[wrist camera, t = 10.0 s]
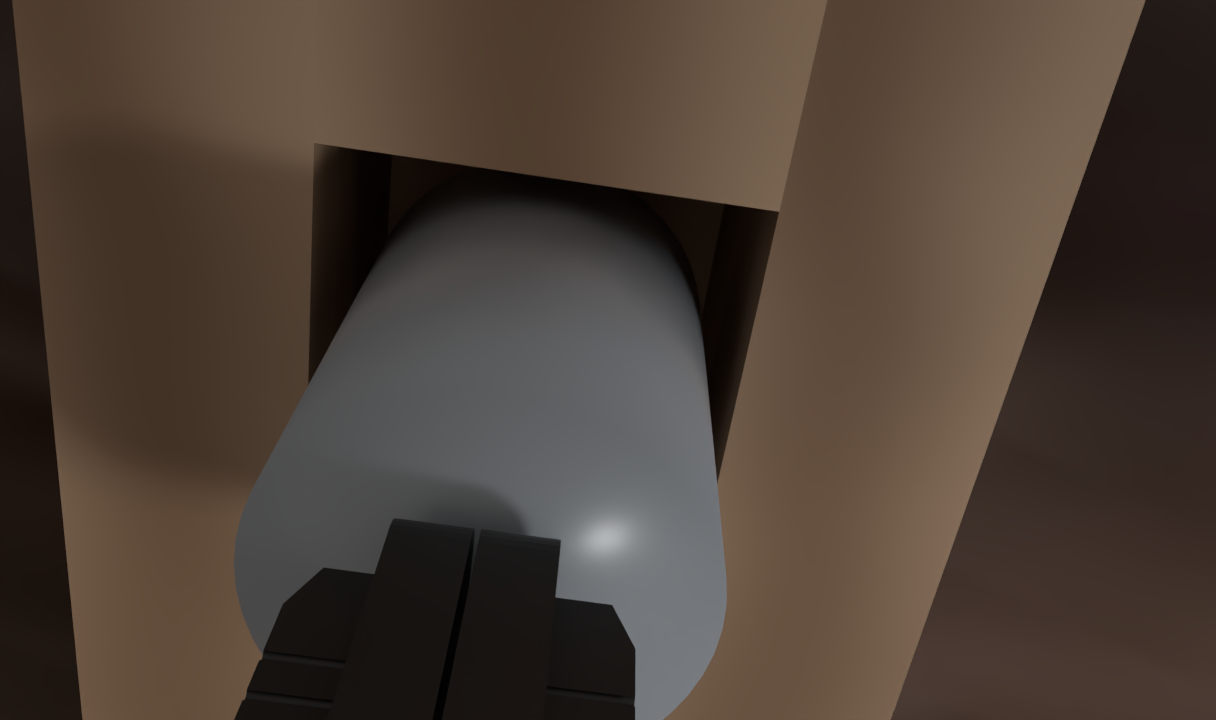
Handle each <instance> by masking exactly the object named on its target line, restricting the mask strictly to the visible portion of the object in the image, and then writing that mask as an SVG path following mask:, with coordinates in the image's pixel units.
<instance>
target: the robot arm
mask: <svg viewBox="0 0 1216 720" xmlns="http://www.w3.org/2000/svg"><path fill="white" fill-rule="evenodd" d="M474 537H475V529H474V528H467V527H459V526H452V525H444V524H437V523H429V522H422V521H414V520H407V519H399V518H394V519H393V520H392V522H391V524H390V527H389V530H388V533H387V536H386V539H385V542H384V546H383V549H382V552H381V555H380V558H379V561H378V564H377V567H376V570H375V573H374V574H370V573H362V572H355V571H347V570H339V569H332V568H322V569H321V570H320V571H319V572H318V573H317V574H316V575H315V576H313V577H312V578H311V579H310V580H309V581H308V582H307V583H306V584H304V585H303V586H302V587H301V588H300V589H299V590H298V591H297V592H296V593H294V594H293V595H292V596H291V597H290V598H289V599H288V600H287V601H285V602H284V603H283V605H282V607H281V609H280V612H279V614H278V617H277V619H276V621H275V624H274V626H273V628H272V631H271V633H270V636H269V638H268V640H267V643H266V645H265V647H264V650H263V656H262V659H261V660H259V662H258V664H257V666H256V669H255V671H254V674H253V676H252V678H251V681H250V683H249V686H248V688H247V693H246V697H245V700H242V702H241V705H240V707H239V709H238V712H237V714H236V716H235V719H234V720H635V707H634V703H635V663H636V649H635V647H634V645H633V643H632V641H631V639H630V638H629V636H628V634H627V632H626V630H625V628H624V626H623V624H622V622H621V621H620V619H619V617H618V615H617V613H616V611H615V609H614V607H613V605H610V604H602V603H594V602H587V601H579V600H571V599H564V598H556V587H557V577H558V567H559V557H560V546H561V540H559V539H552V538H544V537H537V536H529V535H522V534H514V533H507V532H499V531H492V530H484V529H481V532H480V536H479V541H478V546H477V551H476V556H475V561H474V565H473V570H472V575H471V566H472V557H473V548H474ZM470 575H471V580H470ZM469 583H470V585H469Z"/></svg>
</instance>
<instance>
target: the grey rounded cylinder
mask: <svg viewBox="0 0 1216 720" xmlns="http://www.w3.org/2000/svg"><path fill="white" fill-rule="evenodd" d="M394 518H399V519H407V520H414V521H422V522H429V523H437V524H444V525H452V526H459V527H467V528H474V529H475V537H474V548H473V557H472V566H471V575H472V570H473V565H474V561H475V556H476V551H477V546H478V541H479V536H480V532H481V529H484V530H492V531H499V532H507V533H514V534H522V535H529V536H537V537H544V538H552V539H559V540H561V546H560V557H559V567H558V577H557V587H556V598H564V599H571V600H579V601H587V602H594V603H602V604H610V605H613V607H614V609H615V611H616V613H617V615H618V617H619V619H620V621H621V622H622V624H623V626H624V628H625V630H626V632H627V634H628V636H629V638H630V639H631V641H632V643H633V645H634V647H635V649H636V663H635V703H634V707H635V720H663V719H664V718H665V717H667V716H668V715H669V714H670V713H671V712H672V711H673V710H674V709H675V708H676V707H677V706H678V705H679V704H680V703H681V702H682V701H683V700H684V699H685V698H686V697H687V696H688V695H689V693H690V692H691V691H692V689H693V688H694V687H695V685H696V684H697V683H698V681H699V680H700V679H701V677H702V676H703V674H704V672H705V670H706V668H707V667H708V665H709V663H710V661H711V659H712V657H713V655H714V653H715V650H716V647H717V644H718V641H719V638H720V635H721V633H722V630H723V624H724V618H725V611H726V605H727V578H726V568H725V558H724V548H723V537H722V527H721V517H720V507H719V497H718V486H717V476H716V466H715V456H714V445H713V435H712V425H711V415H710V404H709V394H708V384H707V374H706V363H705V353H704V343H703V333H702V323H701V312H700V303H699V296H698V290H697V284H696V281H695V278H694V274H693V271H692V268H691V265H690V263H689V261H688V258H687V256H686V254H685V252H684V250H683V248H682V246H681V244H680V243H679V241H678V240H677V238H676V237H675V235H674V234H673V232H672V231H671V229H670V228H669V227H668V225H667V224H666V223H665V222H664V221H663V220H662V219H661V217H660V216H659V215H658V214H657V213H656V212H655V211H654V210H653V209H652V208H651V207H650V206H648V205H647V204H646V203H645V202H644V201H643V200H642V199H640V198H639V197H638V196H636V195H635V194H633V193H632V192H630V191H629V190H627V189H622V188H615V187H609V186H602V185H595V184H588V183H582V182H575V181H568V180H561V179H555V178H548V177H541V176H534V175H527V174H521V173H514V172H507V171H500V170H494V169H487V168H480V167H479V168H476V169H472V170H469V171H466V172H464V173H462V174H459V175H457V176H455V177H453V178H451V179H449V180H447V181H445V182H443V183H442V184H440V185H439V186H437V187H435V188H434V189H432V190H431V191H429V192H428V193H427V194H425V195H424V196H423V197H422V198H421V199H420V200H419V201H417V202H416V203H415V204H414V205H413V206H412V207H411V208H410V209H409V210H408V211H407V212H406V214H405V215H404V216H403V217H402V218H401V219H400V220H399V222H398V223H397V225H396V226H395V228H394V229H393V231H392V233H391V234H390V236H389V237H388V239H387V241H386V242H385V244H384V246H383V248H382V250H381V252H380V254H379V255H378V257H377V259H376V261H375V263H374V265H373V267H372V268H371V270H370V272H369V274H368V276H367V278H366V280H365V281H364V283H363V285H362V287H361V289H360V291H359V292H358V294H357V296H356V298H355V300H354V302H353V304H352V305H351V307H350V309H349V311H348V313H347V315H346V317H345V318H344V320H343V322H342V324H341V326H340V328H339V329H338V331H337V333H336V335H335V337H334V339H333V341H332V342H331V344H330V346H329V348H328V350H327V352H326V354H325V355H324V357H323V359H322V361H321V363H320V365H319V366H318V368H317V370H316V372H315V374H314V376H313V378H312V379H311V381H310V383H309V385H308V387H307V389H306V391H305V392H304V394H303V396H302V398H301V400H300V402H299V403H298V405H297V407H296V409H295V411H294V413H293V415H292V416H291V418H290V420H289V422H288V424H287V426H286V428H285V429H284V431H283V433H282V435H281V437H280V439H279V441H278V442H277V444H276V446H275V448H274V450H273V452H272V453H271V455H270V457H269V459H268V461H267V463H266V465H265V466H264V468H263V470H262V472H261V474H260V476H259V478H258V479H257V481H256V483H255V485H254V487H253V489H252V491H251V493H250V495H249V498H248V500H247V502H246V505H245V507H244V509H243V512H242V514H241V518H240V522H239V526H238V530H237V535H236V539H235V553H234V573H235V584H236V592H237V595H238V599H239V603H240V607H241V611H242V615H243V617H244V620H245V622H246V624H247V627H248V629H249V631H250V634H251V636H252V638H253V640H254V642H255V644H256V645H257V647H258V649H259V650H260V652H261V654H262V655H263V650H264V647H265V645H266V643H267V640H268V638H269V636H270V633H271V631H272V628H273V626H274V624H275V621H276V619H277V617H278V614H279V612H280V609H281V607H282V605H283V603H284V602H285V601H287V600H288V599H289V598H290V597H291V596H292V595H293V594H294V593H296V592H297V591H298V590H299V589H300V588H301V587H302V586H303V585H304V584H306V583H307V582H308V581H309V580H310V579H311V578H312V577H313V576H315V575H316V574H317V573H318V572H319V571H320V570H321V569H322V568H332V569H339V570H347V571H355V572H362V573H370V574H374V573H375V570H376V567H377V564H378V561H379V558H380V555H381V552H382V549H383V546H384V542H385V539H386V536H387V533H388V530H389V527H390V524H391V522H392V520H393V519H394ZM471 575H470V580H471ZM469 585H470V583H469Z"/></svg>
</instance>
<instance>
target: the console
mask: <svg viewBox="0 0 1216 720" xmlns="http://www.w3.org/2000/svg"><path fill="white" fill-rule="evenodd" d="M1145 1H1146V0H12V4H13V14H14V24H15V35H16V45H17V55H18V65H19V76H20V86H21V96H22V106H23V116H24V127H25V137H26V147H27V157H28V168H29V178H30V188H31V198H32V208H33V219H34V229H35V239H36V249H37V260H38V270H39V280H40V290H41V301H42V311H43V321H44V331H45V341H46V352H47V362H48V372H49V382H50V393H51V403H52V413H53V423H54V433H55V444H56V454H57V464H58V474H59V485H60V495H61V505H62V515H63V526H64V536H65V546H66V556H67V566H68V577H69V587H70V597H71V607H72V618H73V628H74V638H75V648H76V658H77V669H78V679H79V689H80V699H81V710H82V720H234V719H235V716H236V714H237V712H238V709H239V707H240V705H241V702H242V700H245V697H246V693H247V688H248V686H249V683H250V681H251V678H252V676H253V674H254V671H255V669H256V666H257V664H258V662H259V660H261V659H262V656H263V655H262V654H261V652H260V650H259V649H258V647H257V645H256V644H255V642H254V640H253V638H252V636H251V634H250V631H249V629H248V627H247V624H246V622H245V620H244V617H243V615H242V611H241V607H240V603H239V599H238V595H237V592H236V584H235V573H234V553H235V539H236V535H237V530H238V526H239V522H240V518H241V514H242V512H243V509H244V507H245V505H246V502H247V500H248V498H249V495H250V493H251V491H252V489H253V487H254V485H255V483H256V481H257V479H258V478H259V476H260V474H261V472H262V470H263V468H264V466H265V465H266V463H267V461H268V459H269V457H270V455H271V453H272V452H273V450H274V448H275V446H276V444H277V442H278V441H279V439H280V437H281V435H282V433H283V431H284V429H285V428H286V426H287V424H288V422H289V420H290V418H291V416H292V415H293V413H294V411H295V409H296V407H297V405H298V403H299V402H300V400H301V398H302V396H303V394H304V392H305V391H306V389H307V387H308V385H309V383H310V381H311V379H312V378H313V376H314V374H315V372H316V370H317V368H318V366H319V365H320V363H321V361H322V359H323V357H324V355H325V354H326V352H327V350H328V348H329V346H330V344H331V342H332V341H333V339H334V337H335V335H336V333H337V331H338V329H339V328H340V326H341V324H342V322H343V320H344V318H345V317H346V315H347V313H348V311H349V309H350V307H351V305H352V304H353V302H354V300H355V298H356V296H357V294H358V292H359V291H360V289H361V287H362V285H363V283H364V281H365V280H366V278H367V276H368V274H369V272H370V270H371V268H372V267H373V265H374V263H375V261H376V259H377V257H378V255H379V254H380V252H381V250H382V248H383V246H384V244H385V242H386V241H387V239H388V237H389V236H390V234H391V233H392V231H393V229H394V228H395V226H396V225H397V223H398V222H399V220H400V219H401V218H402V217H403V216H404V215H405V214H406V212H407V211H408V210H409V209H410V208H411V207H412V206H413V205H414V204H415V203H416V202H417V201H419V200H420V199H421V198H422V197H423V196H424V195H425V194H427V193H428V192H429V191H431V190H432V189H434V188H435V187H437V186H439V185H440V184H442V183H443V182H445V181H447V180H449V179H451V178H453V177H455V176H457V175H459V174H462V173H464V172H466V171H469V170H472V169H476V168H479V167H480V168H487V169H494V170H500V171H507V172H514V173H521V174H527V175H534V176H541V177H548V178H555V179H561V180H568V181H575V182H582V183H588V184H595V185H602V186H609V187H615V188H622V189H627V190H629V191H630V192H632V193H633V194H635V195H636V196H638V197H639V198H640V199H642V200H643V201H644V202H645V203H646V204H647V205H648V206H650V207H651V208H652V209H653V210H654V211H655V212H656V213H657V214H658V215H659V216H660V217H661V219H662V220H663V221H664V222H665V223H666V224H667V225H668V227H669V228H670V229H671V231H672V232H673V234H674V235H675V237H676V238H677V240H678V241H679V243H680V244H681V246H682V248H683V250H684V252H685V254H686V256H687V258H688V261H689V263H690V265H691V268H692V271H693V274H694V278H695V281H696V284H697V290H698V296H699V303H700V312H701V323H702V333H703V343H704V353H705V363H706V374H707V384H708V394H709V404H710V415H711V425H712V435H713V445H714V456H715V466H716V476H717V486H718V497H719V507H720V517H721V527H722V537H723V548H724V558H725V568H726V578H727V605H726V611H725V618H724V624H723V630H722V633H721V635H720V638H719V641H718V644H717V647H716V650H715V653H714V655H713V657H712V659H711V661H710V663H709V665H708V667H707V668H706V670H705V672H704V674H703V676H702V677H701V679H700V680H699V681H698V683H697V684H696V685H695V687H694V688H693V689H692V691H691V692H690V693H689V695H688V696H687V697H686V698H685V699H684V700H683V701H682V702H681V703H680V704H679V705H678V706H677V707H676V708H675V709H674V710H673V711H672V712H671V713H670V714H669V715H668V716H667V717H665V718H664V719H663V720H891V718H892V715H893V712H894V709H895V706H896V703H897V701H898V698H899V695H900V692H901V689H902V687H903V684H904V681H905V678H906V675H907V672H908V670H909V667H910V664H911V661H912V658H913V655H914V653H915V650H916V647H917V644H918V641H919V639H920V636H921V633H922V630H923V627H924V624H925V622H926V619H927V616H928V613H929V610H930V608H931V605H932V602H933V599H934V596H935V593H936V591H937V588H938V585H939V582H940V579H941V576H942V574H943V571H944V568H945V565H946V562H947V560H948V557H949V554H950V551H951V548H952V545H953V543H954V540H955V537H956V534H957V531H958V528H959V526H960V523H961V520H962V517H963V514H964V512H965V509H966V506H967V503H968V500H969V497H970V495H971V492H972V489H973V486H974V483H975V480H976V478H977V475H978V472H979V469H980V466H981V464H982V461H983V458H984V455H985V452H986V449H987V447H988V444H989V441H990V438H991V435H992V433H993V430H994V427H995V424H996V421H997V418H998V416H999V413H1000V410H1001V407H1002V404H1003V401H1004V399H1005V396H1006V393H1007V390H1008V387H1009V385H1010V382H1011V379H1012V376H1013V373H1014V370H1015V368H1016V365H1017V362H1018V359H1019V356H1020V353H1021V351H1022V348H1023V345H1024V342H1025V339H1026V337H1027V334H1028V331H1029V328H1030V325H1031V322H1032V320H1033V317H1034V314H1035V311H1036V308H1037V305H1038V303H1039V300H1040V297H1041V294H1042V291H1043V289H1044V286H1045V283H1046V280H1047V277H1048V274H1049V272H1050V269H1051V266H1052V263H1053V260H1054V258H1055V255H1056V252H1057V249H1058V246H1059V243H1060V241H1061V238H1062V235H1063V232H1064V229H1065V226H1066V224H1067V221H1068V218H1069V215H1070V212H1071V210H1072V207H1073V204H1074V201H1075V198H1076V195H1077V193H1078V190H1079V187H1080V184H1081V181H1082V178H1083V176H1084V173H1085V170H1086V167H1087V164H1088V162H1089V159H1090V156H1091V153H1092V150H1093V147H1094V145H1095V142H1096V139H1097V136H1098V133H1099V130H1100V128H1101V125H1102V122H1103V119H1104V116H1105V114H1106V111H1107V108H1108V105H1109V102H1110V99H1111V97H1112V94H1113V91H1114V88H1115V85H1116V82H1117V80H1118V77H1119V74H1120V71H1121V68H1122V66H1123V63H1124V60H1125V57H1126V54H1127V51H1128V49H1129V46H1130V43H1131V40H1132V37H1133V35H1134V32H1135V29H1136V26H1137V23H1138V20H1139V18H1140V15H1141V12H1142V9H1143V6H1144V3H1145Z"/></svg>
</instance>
